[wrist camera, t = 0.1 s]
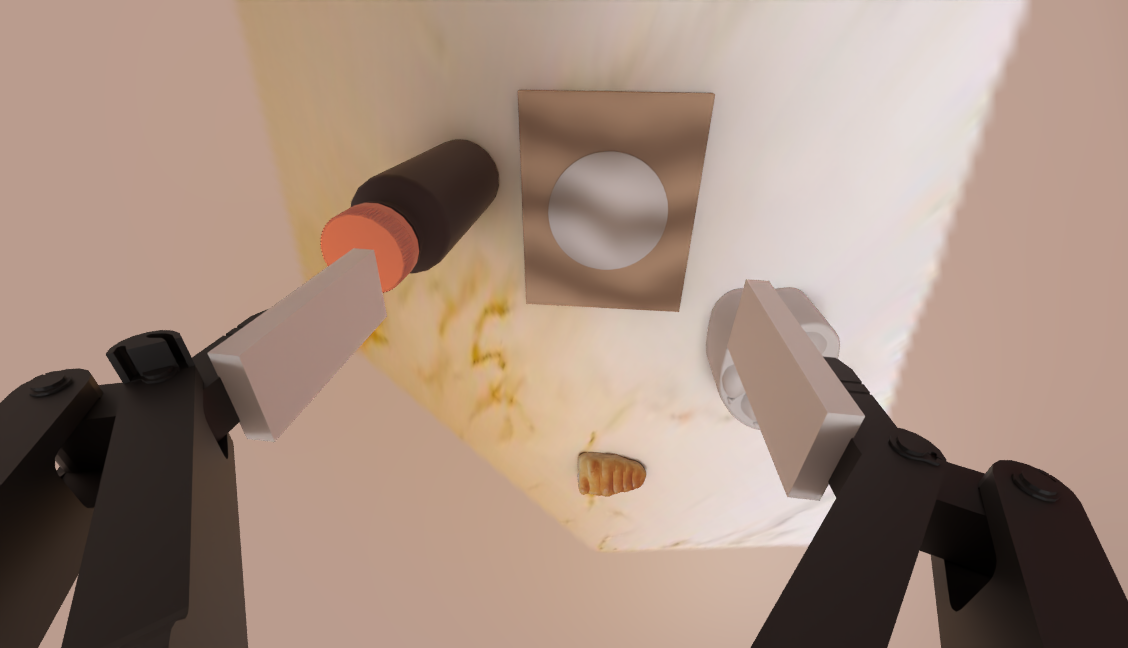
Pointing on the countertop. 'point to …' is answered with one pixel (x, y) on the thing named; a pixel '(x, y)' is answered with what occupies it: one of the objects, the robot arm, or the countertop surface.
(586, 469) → the pastry
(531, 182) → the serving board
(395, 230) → the vinegar
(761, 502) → the countertop surface
